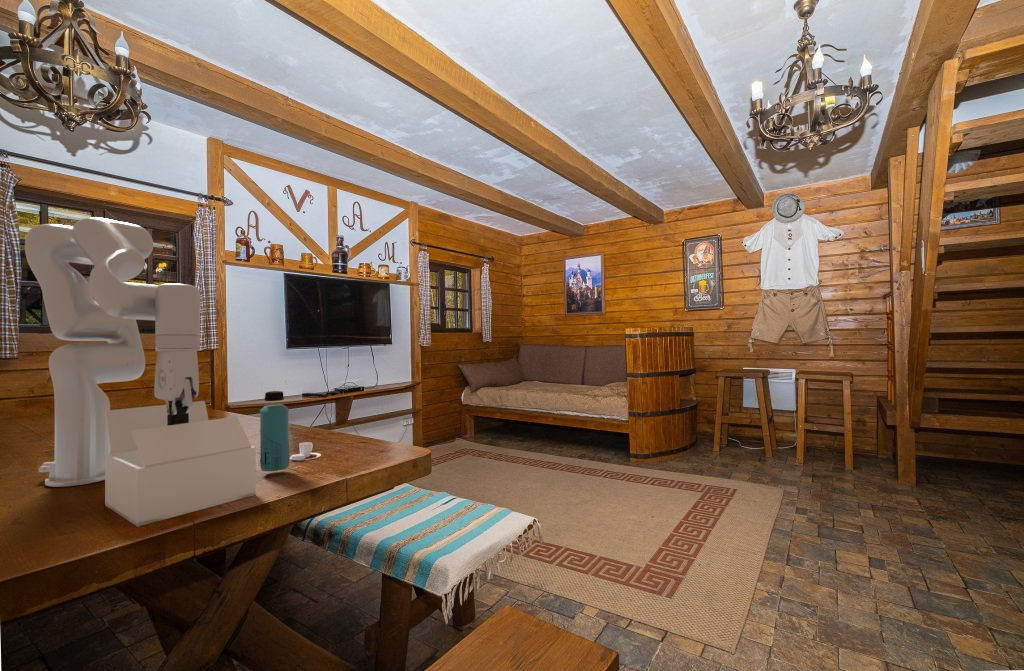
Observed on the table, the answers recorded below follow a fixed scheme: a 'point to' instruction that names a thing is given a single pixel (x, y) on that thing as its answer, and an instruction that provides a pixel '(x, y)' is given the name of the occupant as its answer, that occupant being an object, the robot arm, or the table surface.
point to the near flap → (189, 440)
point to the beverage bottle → (274, 434)
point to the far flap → (142, 423)
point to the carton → (176, 484)
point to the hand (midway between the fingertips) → (178, 433)
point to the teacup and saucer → (304, 452)
